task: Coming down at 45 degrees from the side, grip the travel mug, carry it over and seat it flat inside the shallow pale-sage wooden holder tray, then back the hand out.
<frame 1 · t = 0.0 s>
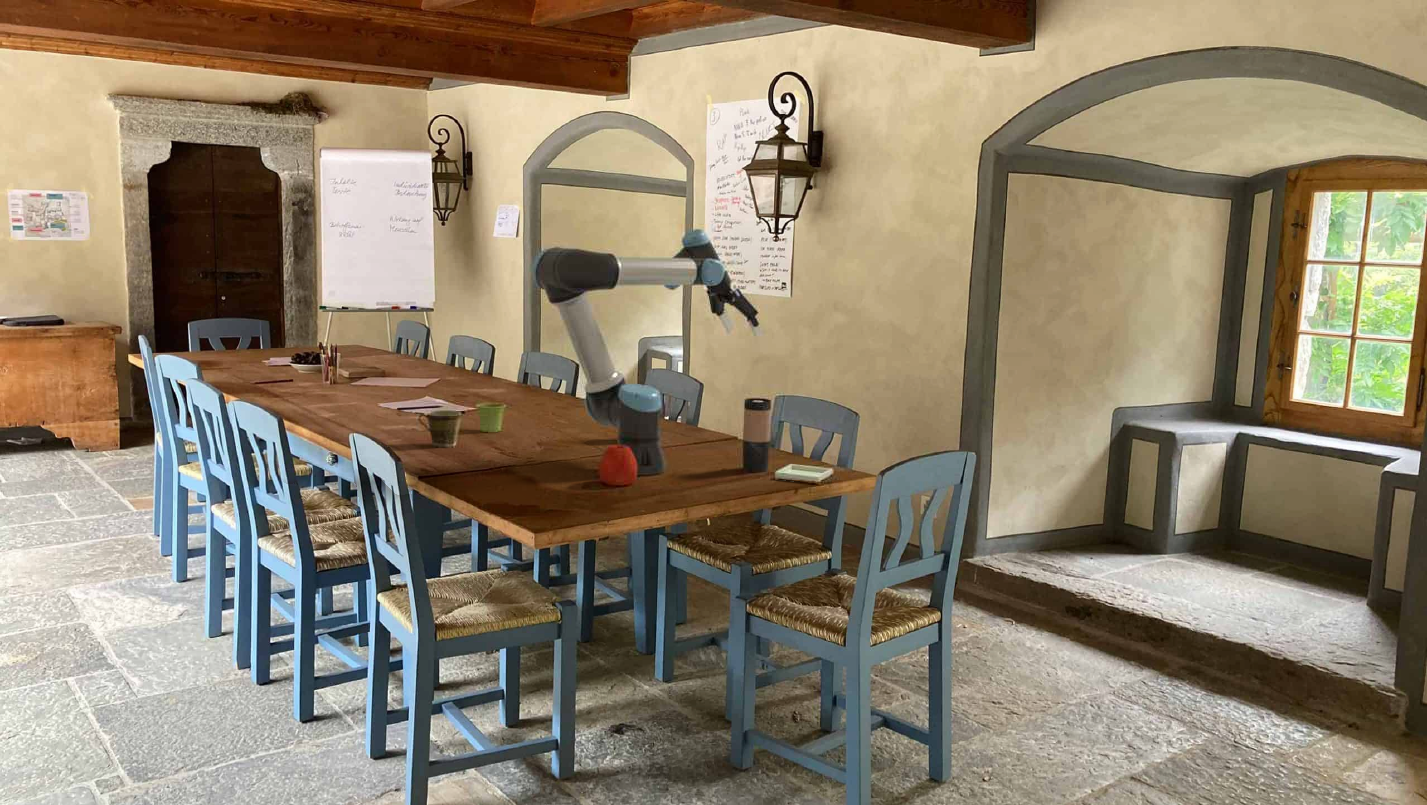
hand: (745, 332, 342), 36 cm above the table, tool tilted 35°, fingers open, 13 cm apart
apple: (618, 484, 292), on the table
plant pot: (491, 431, 361), on the table
ceramic cup: (439, 446, 335), on the table
holder tray: (804, 477, 305), on the table
travel mug: (755, 470, 314), on the table
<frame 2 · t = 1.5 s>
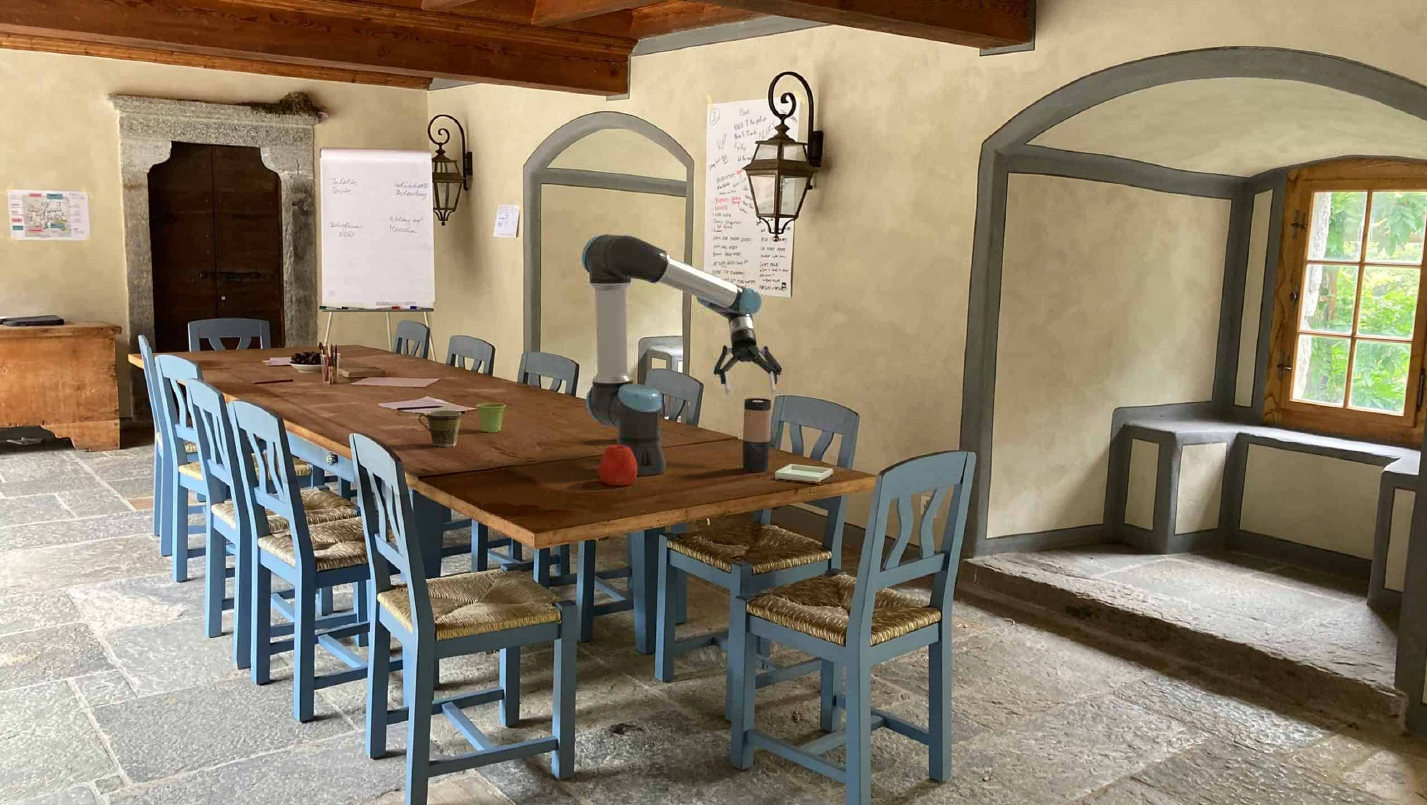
hand: (750, 392, 321), 21 cm above the table, tool tilted 45°, fingers open, 13 cm apart
nothing on the table moved.
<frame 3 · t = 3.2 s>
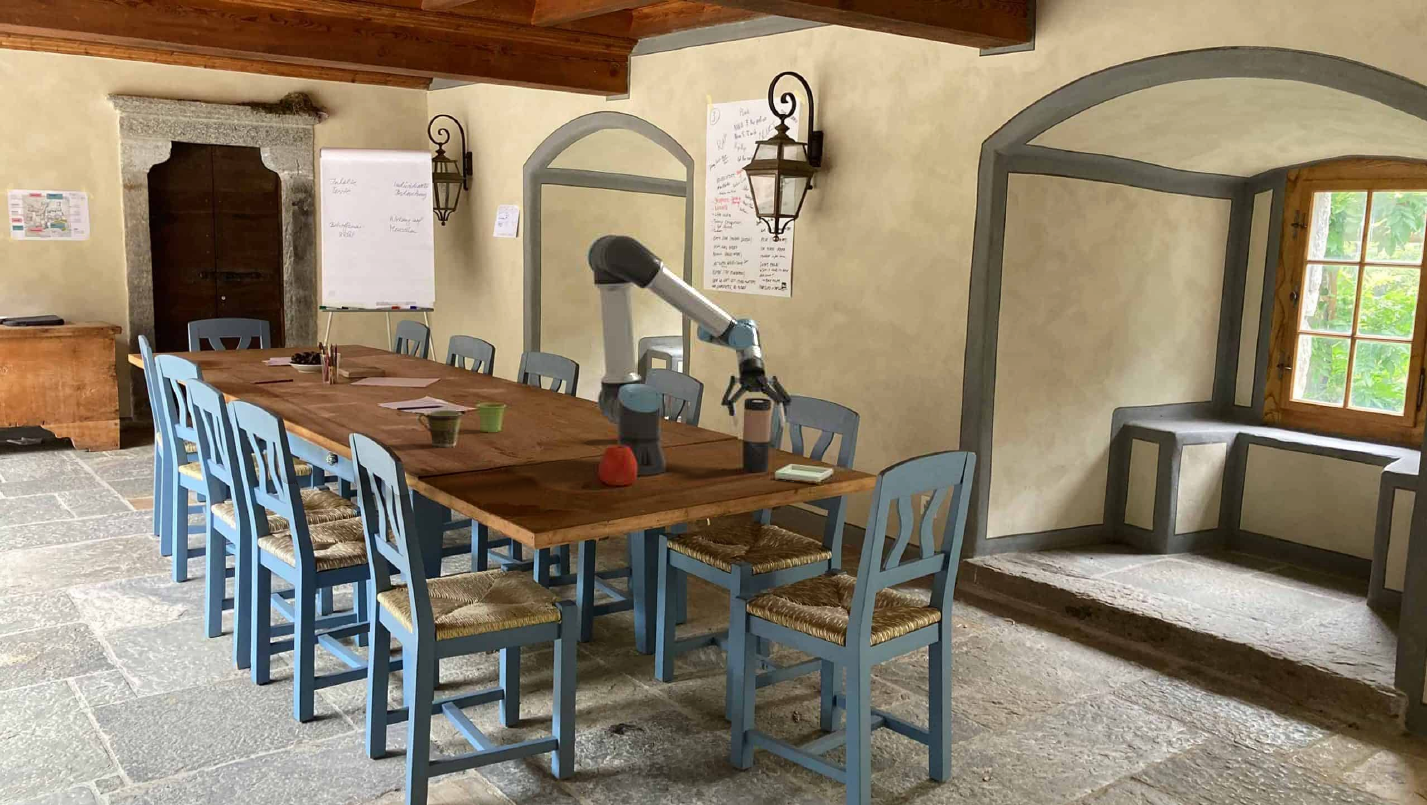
hand: (760, 424, 313), 13 cm above the table, tool tilted 45°, fingers open, 13 cm apart
nothing on the table moved.
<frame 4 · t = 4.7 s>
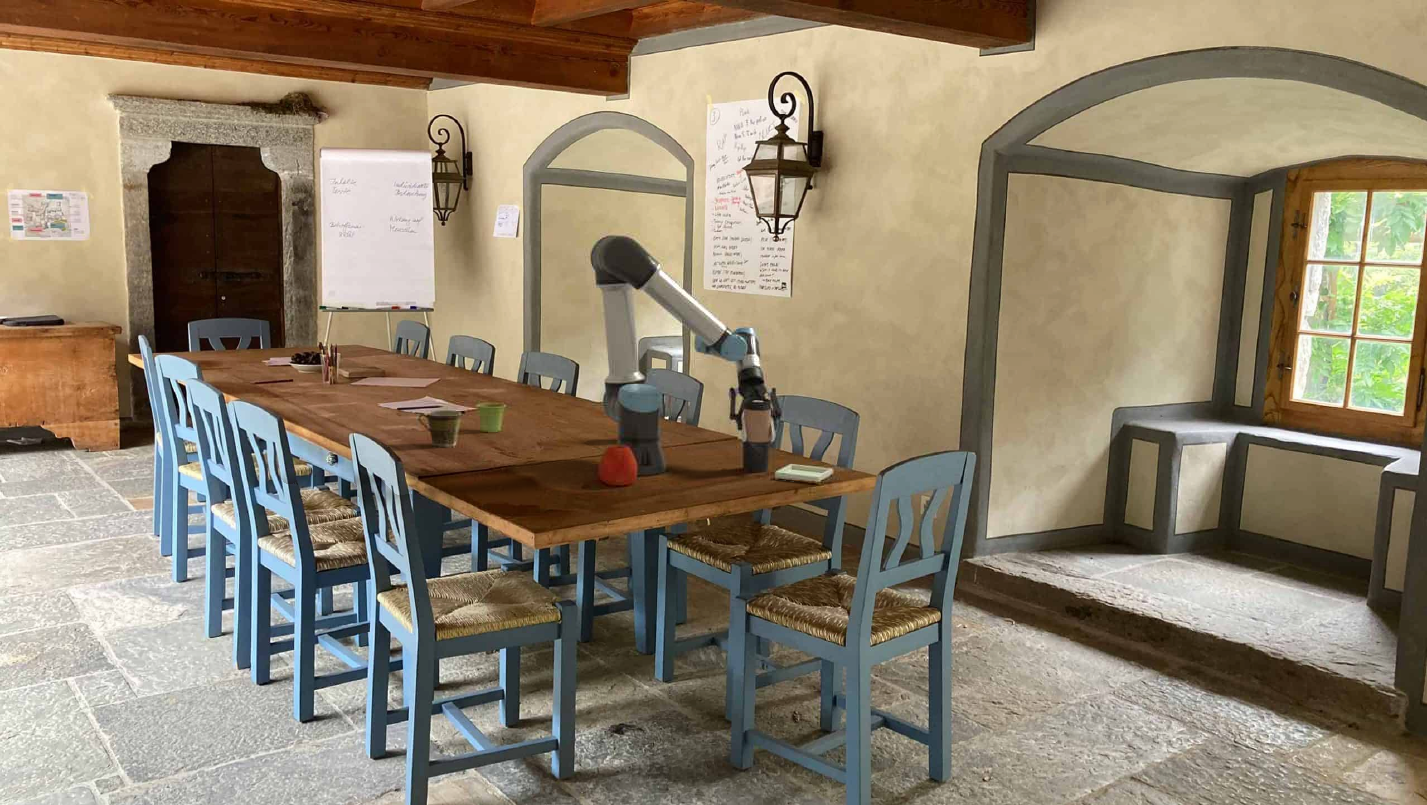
hand: (759, 438, 309), 10 cm above the table, tool tilted 45°, fingers closed on travel mug, 7 cm apart
travel mug: (755, 470, 314), on the table, touching gripper
everything else where it was.
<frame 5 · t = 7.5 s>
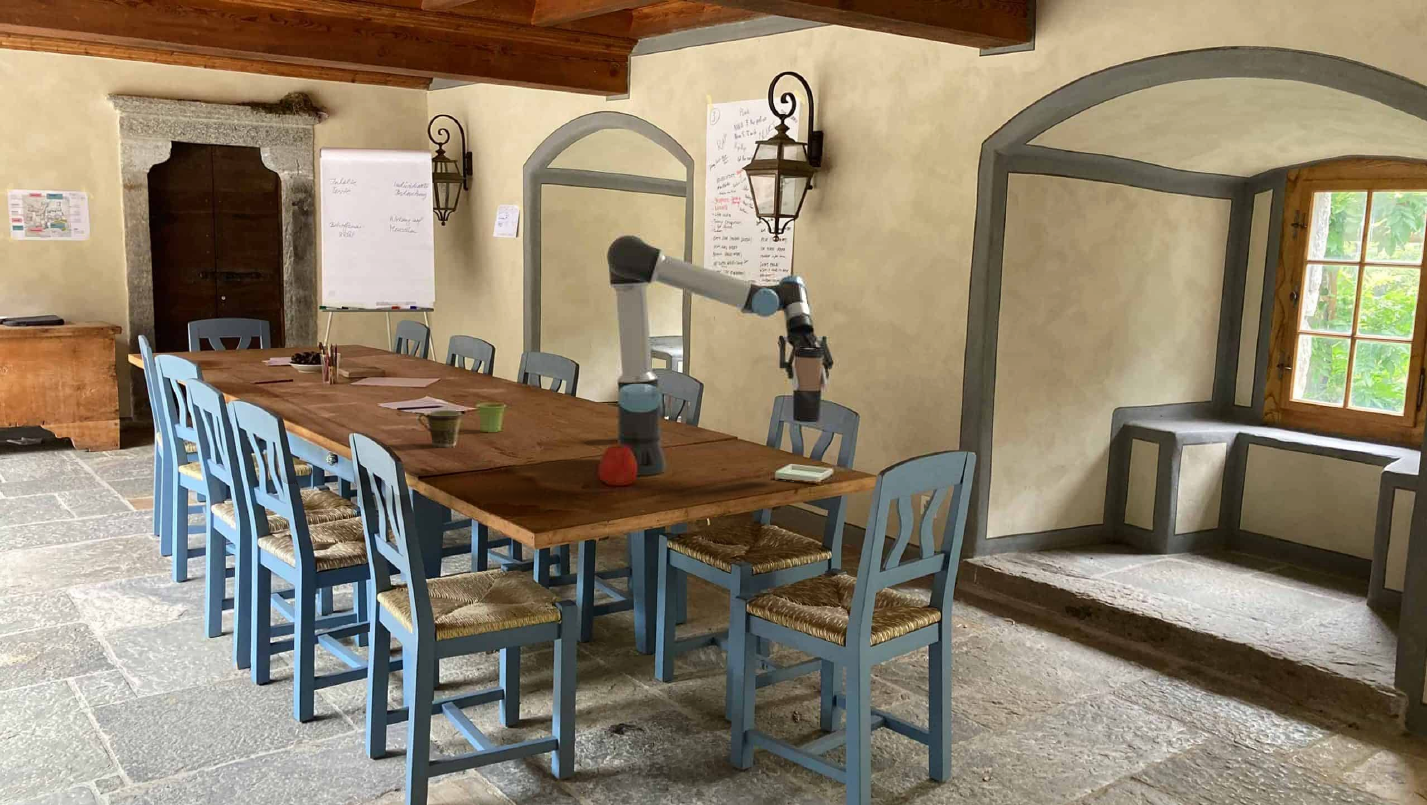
hand: (810, 387, 298), 26 cm above the table, tool tilted 45°, fingers closed on travel mug, 7 cm apart
travel mug: (806, 420, 303), point 16 cm above the table, touching gripper
everything else where it was.
when the fingers open (12 cm above the table, at t = 10.5 s): travel mug drops 1 cm, resting on holder tray.
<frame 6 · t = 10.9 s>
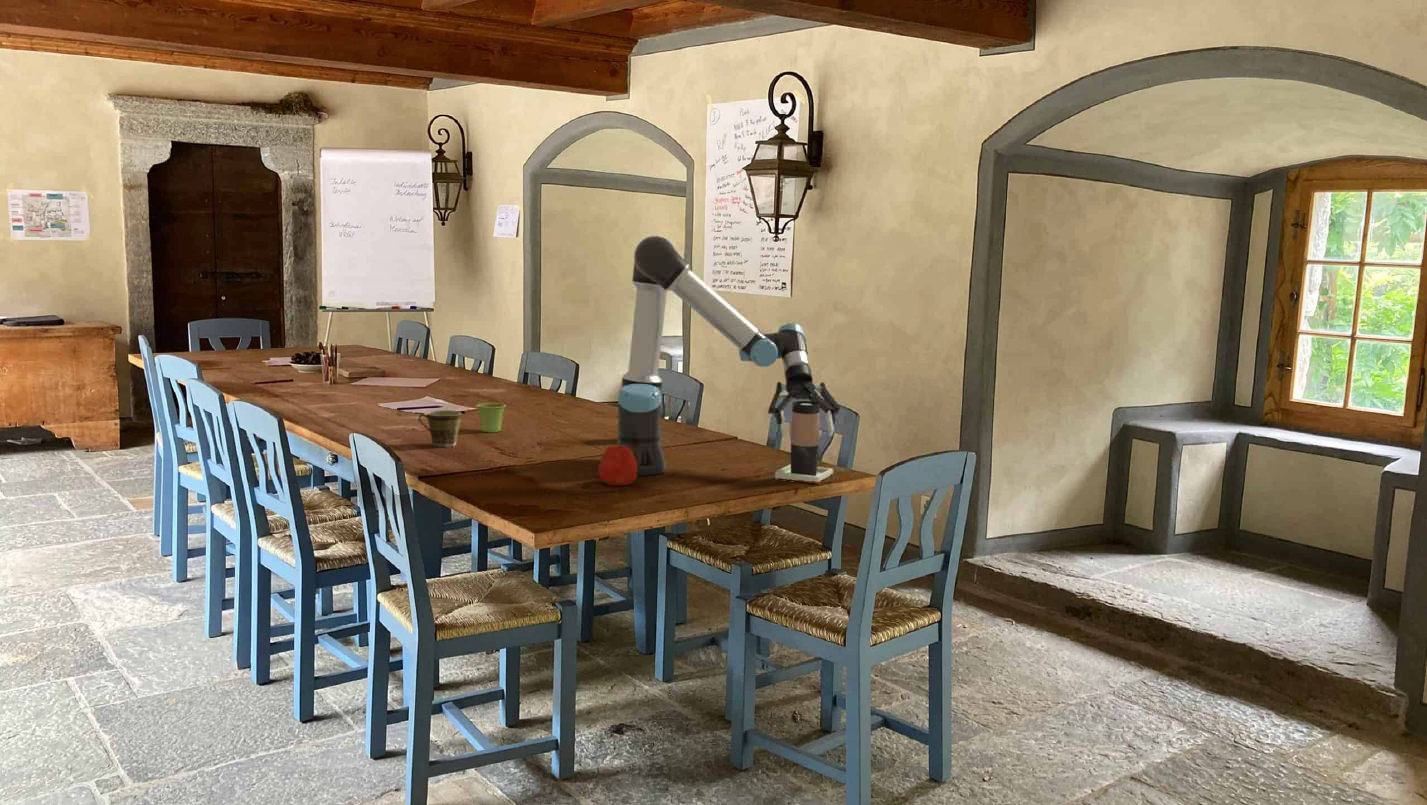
hand: (808, 433, 301), 13 cm above the table, tool tilted 45°, fingers open, 13 cm apart
travel mug: (803, 475, 305), point 1 cm above the table, touching holder tray
everything else where it was.
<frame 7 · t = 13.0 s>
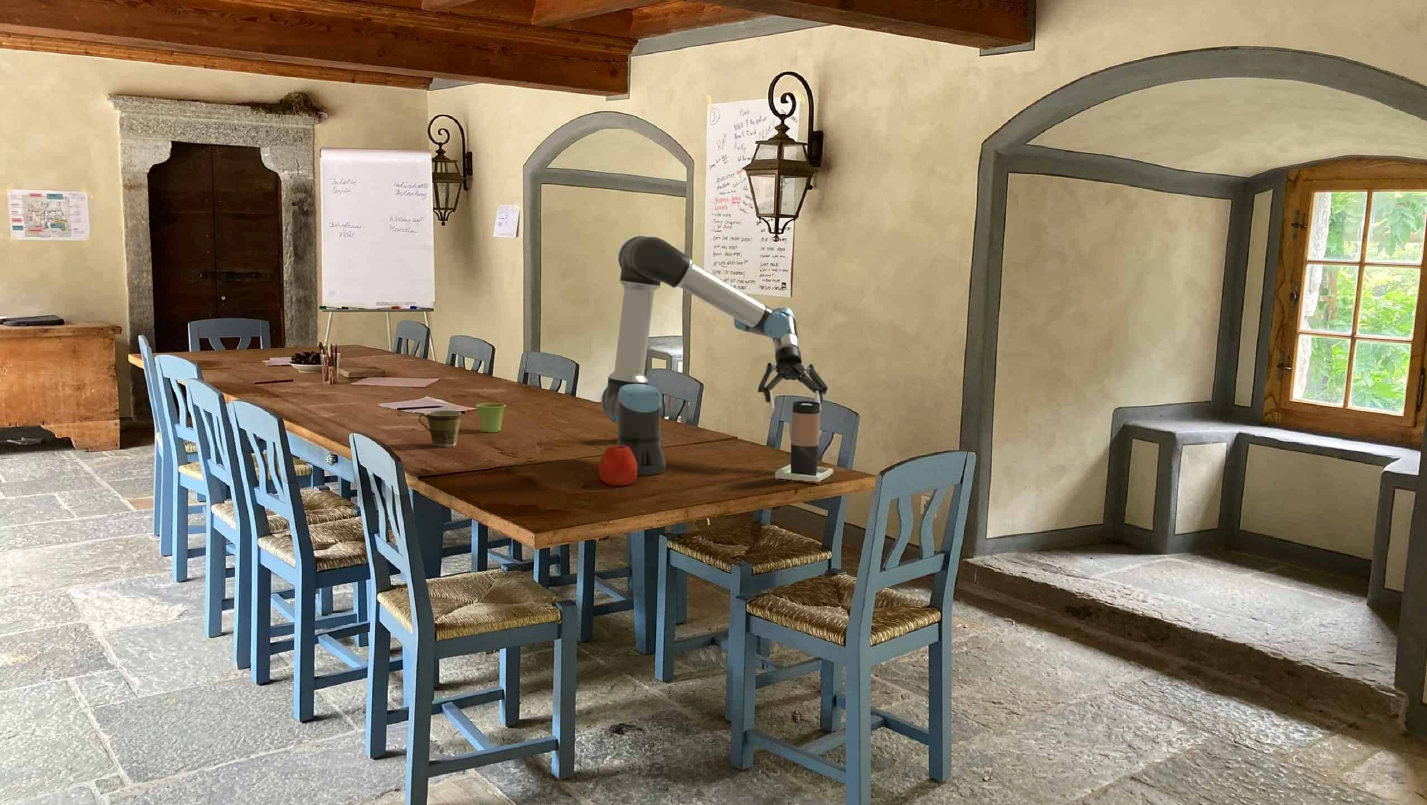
hand: (795, 411, 314), 17 cm above the table, tool tilted 45°, fingers open, 13 cm apart
nothing on the table moved.
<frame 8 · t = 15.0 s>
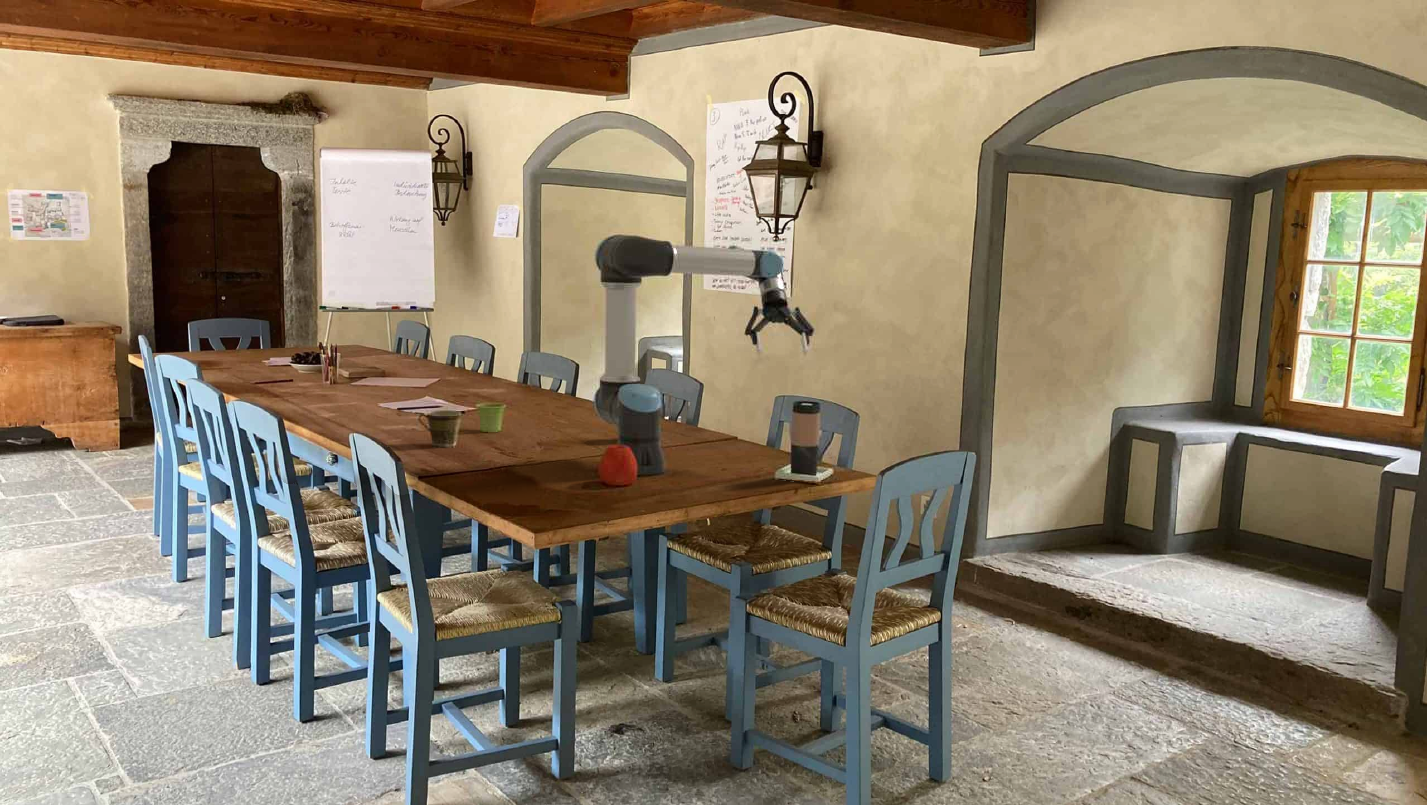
hand: (782, 352, 316), 33 cm above the table, tool tilted 45°, fingers open, 13 cm apart
nothing on the table moved.
at the end: travel mug 0.2 cm off-centre on the holder tray, point 0.6 cm above the holder tray's base; travel mug tilted 0°; the gripper is holding nothing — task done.
